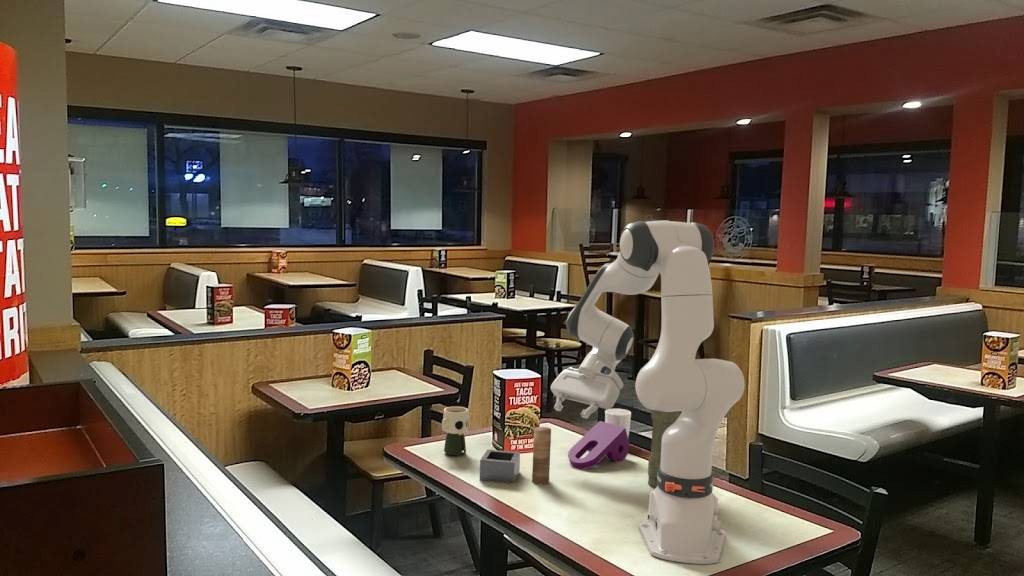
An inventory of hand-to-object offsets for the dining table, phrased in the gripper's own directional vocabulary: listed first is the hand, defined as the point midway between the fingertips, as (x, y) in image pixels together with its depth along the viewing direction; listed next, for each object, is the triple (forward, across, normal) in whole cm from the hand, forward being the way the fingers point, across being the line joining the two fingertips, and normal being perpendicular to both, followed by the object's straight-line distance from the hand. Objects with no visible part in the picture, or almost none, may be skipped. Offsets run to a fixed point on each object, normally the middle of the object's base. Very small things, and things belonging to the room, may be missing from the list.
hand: (570, 413), depth 206 cm
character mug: (+21, -31, +3) cm, 38 cm away
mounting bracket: (+2, -2, +22) cm, 22 cm away
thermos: (+3, +23, +21) cm, 31 cm away
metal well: (+23, -10, 0) cm, 25 cm away
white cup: (-11, -8, +34) cm, 37 cm away
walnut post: (+19, 0, +4) cm, 20 cm away
